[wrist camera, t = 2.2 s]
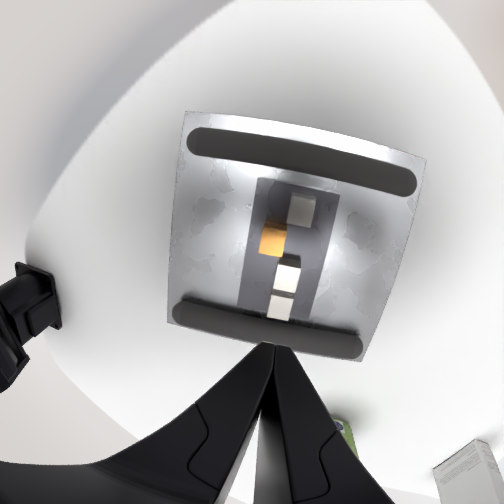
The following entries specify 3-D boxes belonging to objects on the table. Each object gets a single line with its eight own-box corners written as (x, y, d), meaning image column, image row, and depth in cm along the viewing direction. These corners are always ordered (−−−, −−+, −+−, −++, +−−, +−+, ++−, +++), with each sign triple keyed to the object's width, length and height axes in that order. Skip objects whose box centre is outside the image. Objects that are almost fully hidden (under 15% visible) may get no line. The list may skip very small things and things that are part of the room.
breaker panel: (179, 305, 22) (155, 337, 18) (199, 116, 17) (171, 106, 13) (356, 341, 21) (365, 380, 17) (411, 158, 16) (441, 161, 12)
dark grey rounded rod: (176, 314, 19) (167, 326, 18) (177, 294, 19) (168, 305, 17) (356, 351, 18) (360, 365, 17) (364, 332, 18) (368, 346, 16)
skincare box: (448, 473, 27) (464, 547, 12) (429, 469, 27) (445, 553, 12) (490, 442, 24) (517, 518, 9) (476, 436, 24) (505, 522, 9)
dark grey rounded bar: (190, 154, 16) (179, 154, 14) (194, 127, 15) (184, 124, 14) (407, 198, 15) (418, 202, 13) (413, 171, 14) (424, 173, 13)
